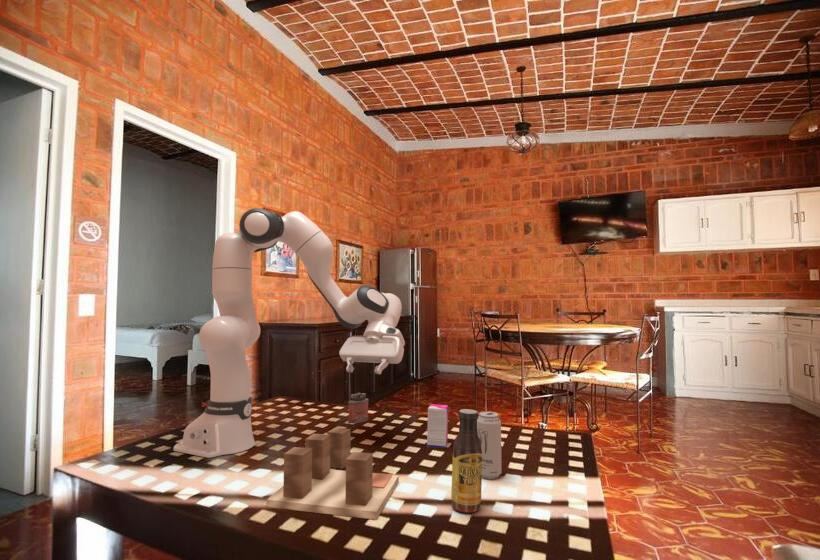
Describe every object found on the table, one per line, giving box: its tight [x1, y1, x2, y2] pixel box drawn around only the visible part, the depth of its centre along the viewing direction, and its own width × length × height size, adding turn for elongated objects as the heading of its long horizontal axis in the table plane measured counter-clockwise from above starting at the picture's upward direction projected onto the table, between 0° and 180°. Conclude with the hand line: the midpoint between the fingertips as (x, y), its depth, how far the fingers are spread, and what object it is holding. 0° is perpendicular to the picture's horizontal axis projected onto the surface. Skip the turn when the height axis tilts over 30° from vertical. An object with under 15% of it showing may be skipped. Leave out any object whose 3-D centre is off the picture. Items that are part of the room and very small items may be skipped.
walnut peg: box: [327, 426, 352, 470], centre depth 112 cm, size 4×4×9 cm
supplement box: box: [426, 403, 449, 449], centre depth 128 cm, size 6×6×12 cm
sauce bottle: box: [450, 408, 483, 514], centre depth 89 cm, size 7×6×20 cm
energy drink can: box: [477, 411, 503, 480], centre depth 106 cm, size 6×6×15 cm
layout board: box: [266, 433, 400, 520], centre depth 95 cm, size 24×18×10 cm
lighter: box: [347, 392, 369, 424], centre depth 154 cm, size 8×3×10 cm, turn 130°
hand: (362, 372), depth 124 cm, fingers open, 8 cm apart
